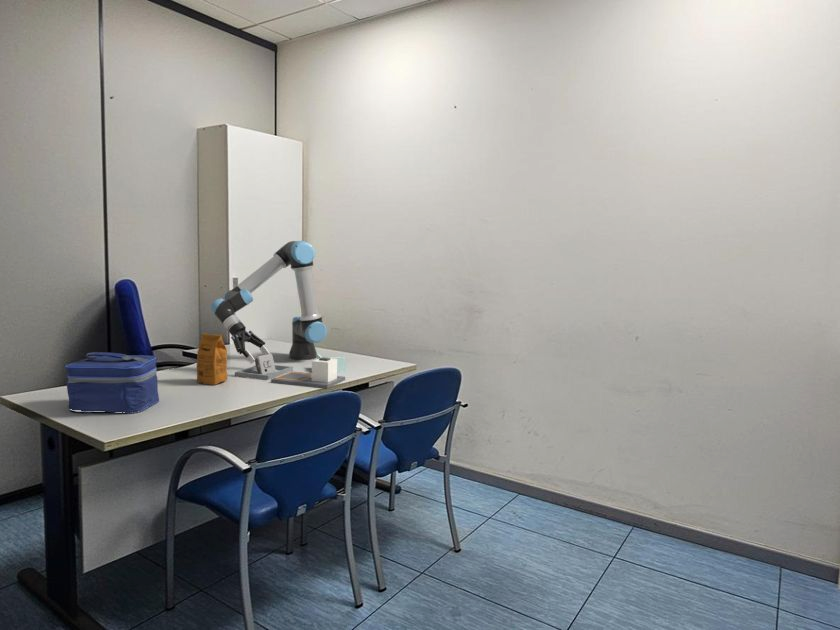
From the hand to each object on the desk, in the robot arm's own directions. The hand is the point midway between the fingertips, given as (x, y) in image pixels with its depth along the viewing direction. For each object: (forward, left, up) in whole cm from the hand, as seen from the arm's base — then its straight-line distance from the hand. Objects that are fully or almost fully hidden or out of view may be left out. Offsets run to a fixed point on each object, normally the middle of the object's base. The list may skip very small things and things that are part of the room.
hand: (261, 359), depth 271 cm
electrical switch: (-1, +1, -7) cm, 7 cm away
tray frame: (-1, +1, -7) cm, 7 cm away
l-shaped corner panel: (-21, +27, -7) cm, 34 cm away
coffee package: (+24, -10, -7) cm, 27 cm away
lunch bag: (+70, -17, -7) cm, 72 cm away
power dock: (+5, +28, -7) cm, 30 cm away
